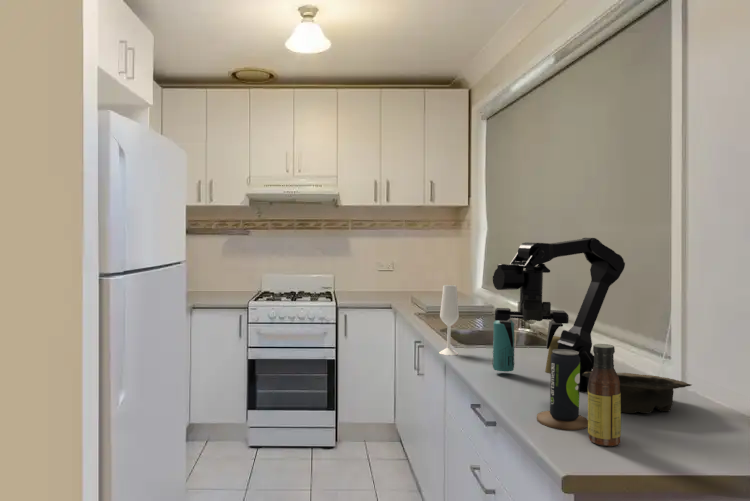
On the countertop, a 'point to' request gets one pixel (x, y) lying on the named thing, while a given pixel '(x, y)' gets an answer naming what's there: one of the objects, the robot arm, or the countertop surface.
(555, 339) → the cork
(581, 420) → the walnut coaster
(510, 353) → the beverage bottle
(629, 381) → the stone bowl
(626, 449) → the countertop surface
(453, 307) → the champagne flute
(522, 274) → the robot arm
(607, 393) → the sauce bottle
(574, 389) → the beverage can
